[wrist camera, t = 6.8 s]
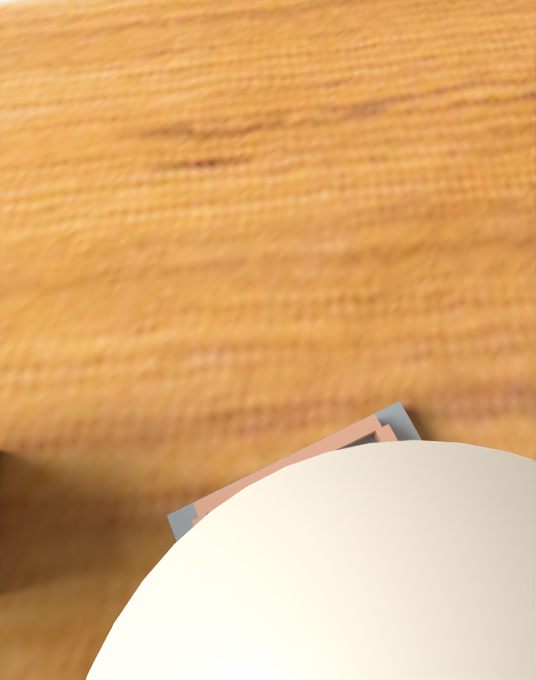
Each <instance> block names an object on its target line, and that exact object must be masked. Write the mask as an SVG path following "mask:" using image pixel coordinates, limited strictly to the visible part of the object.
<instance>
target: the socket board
mask: <svg viewBox="0 0 536 680" xmlns="http://www.w3.org/2000/svg"><path fill="white" fill-rule="evenodd" d="M407 440H422V439H421V437H420V436H419V434H418V432H417V430H416V429H415V427H414V425H413V423H412V422H411V420H410V418H409V417H408V415H407V413H406V411H405V410H404V408H403V406H402V404H401V403H400V401H399V402H397V403H395V404H393V405H391V406H389V407H387V408H385V409H383V410H381V411H379V412H377V413H375V414H373V415H371V416H369V417H367V418H365V419H363V420H360V421H358V422H356V423H354V424H352V425H350V426H348V427H346V428H344V429H342V430H340V431H338V432H336V433H334V434H332V435H330V436H328V437H326V438H324V439H322V440H320V441H318V442H316V443H313V444H311V445H309V446H307V447H305V448H303V449H301V450H299V451H297V452H295V453H293V454H291V455H289V456H287V457H285V458H283V459H281V460H279V461H277V462H275V463H273V464H271V465H269V466H267V467H264V468H262V469H260V470H258V471H256V472H254V473H252V474H250V475H248V476H246V477H244V478H242V479H240V480H238V481H236V482H234V483H232V484H230V485H228V486H226V487H224V488H222V489H220V490H218V491H215V492H213V493H211V494H209V495H207V496H205V497H203V498H201V499H199V500H197V501H195V502H193V503H191V504H189V505H187V506H185V507H183V508H181V509H179V510H177V511H175V512H173V513H171V514H168V515H167V518H168V520H169V523H170V526H171V529H172V531H173V534H174V537H175V539H176V542H177V541H178V540H180V539H181V538H182V537H183V536H184V535H185V534H186V533H187V532H188V531H190V530H191V529H192V528H193V527H194V526H195V525H196V524H197V523H198V522H200V521H201V520H202V519H203V518H204V517H205V516H206V515H207V514H208V513H210V512H211V511H212V510H214V509H215V508H217V507H218V506H220V505H221V504H222V503H224V502H225V501H227V500H228V499H230V498H231V497H233V496H234V495H235V494H237V493H238V492H240V491H241V490H243V489H244V488H246V487H247V486H249V485H251V484H253V483H255V482H257V481H259V480H261V479H263V478H265V477H267V476H269V475H271V474H273V473H274V472H276V471H278V470H280V469H282V468H284V467H286V466H289V465H292V464H295V463H298V462H301V461H303V460H306V459H309V458H312V457H315V456H317V455H320V454H323V453H326V452H330V451H335V450H340V449H345V448H349V447H354V446H359V445H364V444H368V443H380V442H394V441H407Z"/></svg>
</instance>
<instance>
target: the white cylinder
mask: <svg viewBox="0 0 536 680" xmlns="http://www.w3.org/2000/svg"><path fill="white" fill-rule="evenodd" d="M86 680H536V460H533V459H529V458H526V457H523V456H520V455H517V454H513V453H510V452H507V451H502V450H497V449H491V448H486V447H481V446H475V445H470V444H464V443H458V442H440V441H422V440H407V441H394V442H380V443H368V444H364V445H359V446H354V447H349V448H345V449H340V450H335V451H330V452H326V453H323V454H320V455H317V456H315V457H312V458H309V459H306V460H303V461H301V462H298V463H295V464H292V465H289V466H286V467H284V468H282V469H280V470H278V471H276V472H274V473H273V474H271V475H269V476H267V477H265V478H263V479H261V480H259V481H257V482H255V483H253V484H251V485H249V486H247V487H246V488H244V489H243V490H241V491H240V492H238V493H237V494H235V495H234V496H233V497H231V498H230V499H228V500H227V501H225V502H224V503H222V504H221V505H220V506H218V507H217V508H215V509H214V510H212V511H211V512H210V513H208V514H207V515H206V516H205V517H204V518H203V519H202V520H201V521H200V522H198V523H197V524H196V525H195V526H194V527H193V528H192V529H191V530H190V531H188V532H187V533H186V534H185V535H184V536H183V537H182V538H181V539H180V540H178V541H177V542H176V543H175V544H174V545H173V546H172V548H171V549H170V550H169V551H168V552H167V553H166V555H165V556H164V557H163V558H162V559H161V560H160V562H159V563H158V564H157V565H156V566H155V567H154V568H153V570H152V571H151V572H150V573H149V574H148V575H147V577H146V578H145V579H144V580H143V581H142V583H141V584H140V586H139V587H138V589H137V590H136V592H135V593H134V595H133V596H132V598H131V599H130V601H129V602H128V604H127V605H126V607H125V608H124V610H123V611H122V613H121V614H120V615H119V617H118V618H117V620H116V621H115V623H114V625H113V627H112V629H111V631H110V632H109V634H108V636H107V638H106V640H105V642H104V644H103V646H102V648H101V650H100V652H99V654H98V655H97V657H96V659H95V661H94V663H93V665H92V667H91V669H90V671H89V673H88V676H87V678H86Z"/></svg>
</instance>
